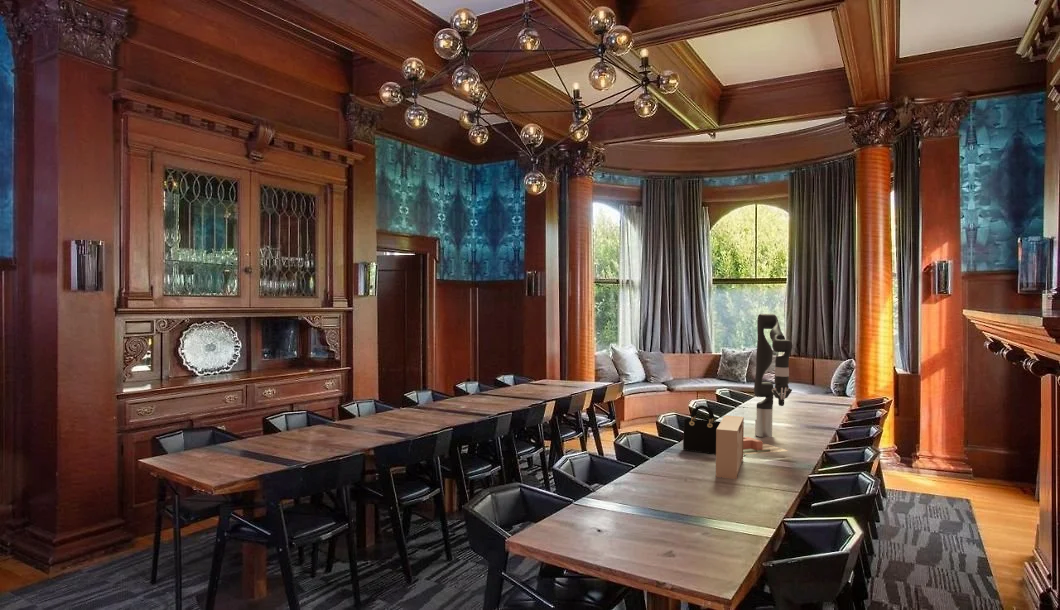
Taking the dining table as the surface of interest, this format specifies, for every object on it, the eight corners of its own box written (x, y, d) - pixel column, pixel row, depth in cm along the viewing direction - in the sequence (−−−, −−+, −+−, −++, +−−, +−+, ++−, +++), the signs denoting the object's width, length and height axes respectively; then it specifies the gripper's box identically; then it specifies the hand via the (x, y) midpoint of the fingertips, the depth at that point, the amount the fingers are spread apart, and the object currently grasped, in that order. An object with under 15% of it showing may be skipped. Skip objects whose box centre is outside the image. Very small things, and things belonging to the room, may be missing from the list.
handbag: (723, 452, 348) (723, 406, 348) (718, 455, 341) (719, 408, 341) (686, 447, 359) (687, 402, 359) (681, 450, 352) (681, 405, 352)
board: (718, 446, 361) (718, 442, 361) (759, 443, 370) (759, 439, 370) (746, 456, 338) (746, 452, 338) (788, 453, 347) (788, 449, 347)
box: (744, 460, 331) (745, 416, 331) (738, 479, 294) (738, 431, 294) (724, 458, 335) (725, 415, 335) (715, 477, 298) (716, 429, 298)
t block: (731, 446, 356) (731, 437, 356) (748, 445, 359) (748, 436, 359) (745, 451, 344) (745, 442, 344) (762, 450, 348) (762, 441, 348)
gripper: (786, 373, 364) (786, 404, 364) (767, 374, 360) (766, 405, 360) (796, 375, 357) (795, 406, 357) (776, 376, 353) (775, 407, 353)
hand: (781, 405), depth 359 cm, fingers closed
